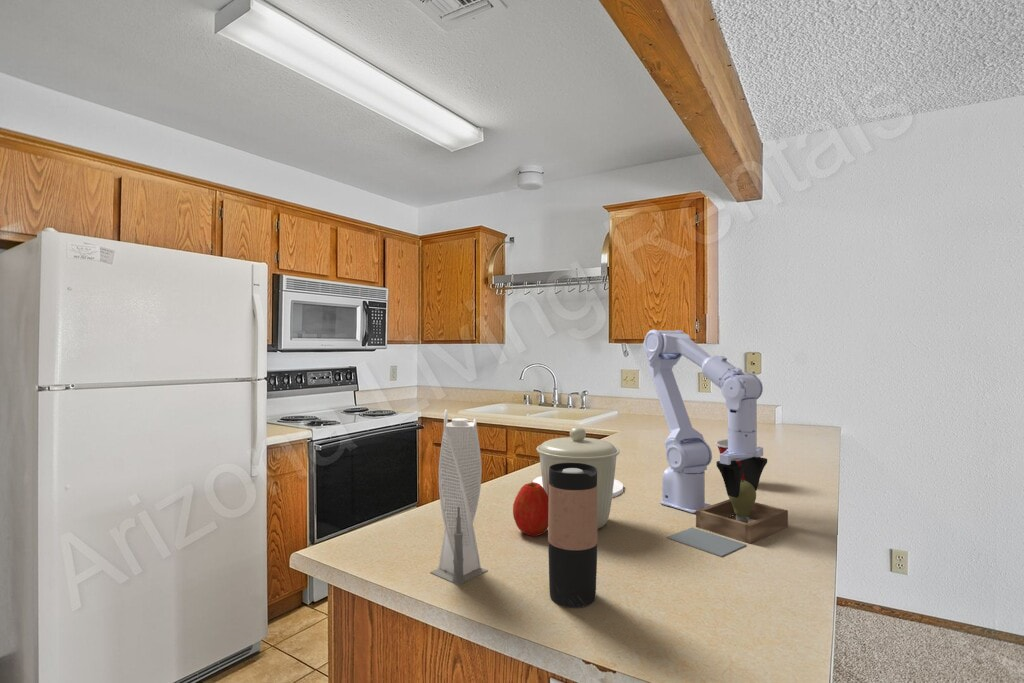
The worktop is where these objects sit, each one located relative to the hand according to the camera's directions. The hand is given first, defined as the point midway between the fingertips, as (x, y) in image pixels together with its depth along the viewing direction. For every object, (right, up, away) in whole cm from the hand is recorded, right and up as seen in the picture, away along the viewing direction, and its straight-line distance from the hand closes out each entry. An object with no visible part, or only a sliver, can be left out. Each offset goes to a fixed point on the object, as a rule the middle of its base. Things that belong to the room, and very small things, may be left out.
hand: (742, 493), depth 112 cm
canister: (-35, -7, +2) cm, 36 cm away
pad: (-11, -7, -9) cm, 16 cm away
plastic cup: (+14, -8, +35) cm, 38 cm away
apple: (-45, -7, -4) cm, 46 cm away
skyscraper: (-59, -7, -22) cm, 63 cm away
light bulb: (0, -7, 0) cm, 7 cm away
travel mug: (-40, -7, -31) cm, 52 cm away
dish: (-32, -8, +31) cm, 45 cm away
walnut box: (0, -7, 0) cm, 7 cm away
